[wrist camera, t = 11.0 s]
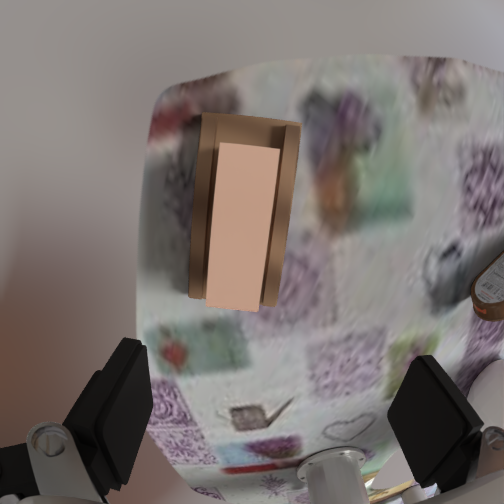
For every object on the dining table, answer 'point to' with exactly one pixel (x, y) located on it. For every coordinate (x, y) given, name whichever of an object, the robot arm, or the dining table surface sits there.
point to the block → (240, 225)
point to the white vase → (489, 395)
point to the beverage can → (413, 495)
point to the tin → (490, 291)
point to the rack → (211, 135)
